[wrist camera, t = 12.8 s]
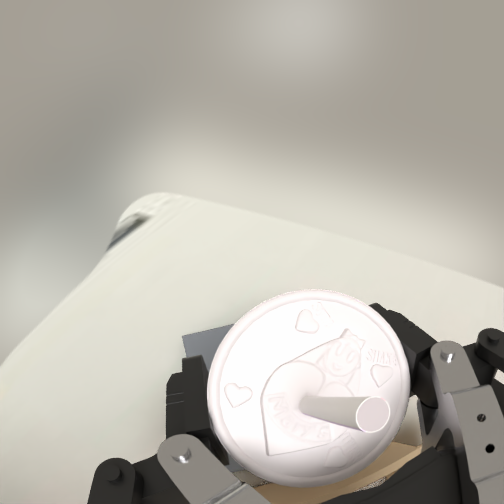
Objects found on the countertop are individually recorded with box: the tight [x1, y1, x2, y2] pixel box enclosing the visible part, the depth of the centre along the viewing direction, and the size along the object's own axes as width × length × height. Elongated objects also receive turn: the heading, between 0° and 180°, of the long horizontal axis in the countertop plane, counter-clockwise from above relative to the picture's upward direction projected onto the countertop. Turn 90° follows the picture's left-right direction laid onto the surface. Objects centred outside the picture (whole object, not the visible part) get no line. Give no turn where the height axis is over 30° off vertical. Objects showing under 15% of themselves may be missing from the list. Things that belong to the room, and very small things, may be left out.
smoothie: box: [207, 289, 410, 488], centre depth 10 cm, size 6×6×14 cm
